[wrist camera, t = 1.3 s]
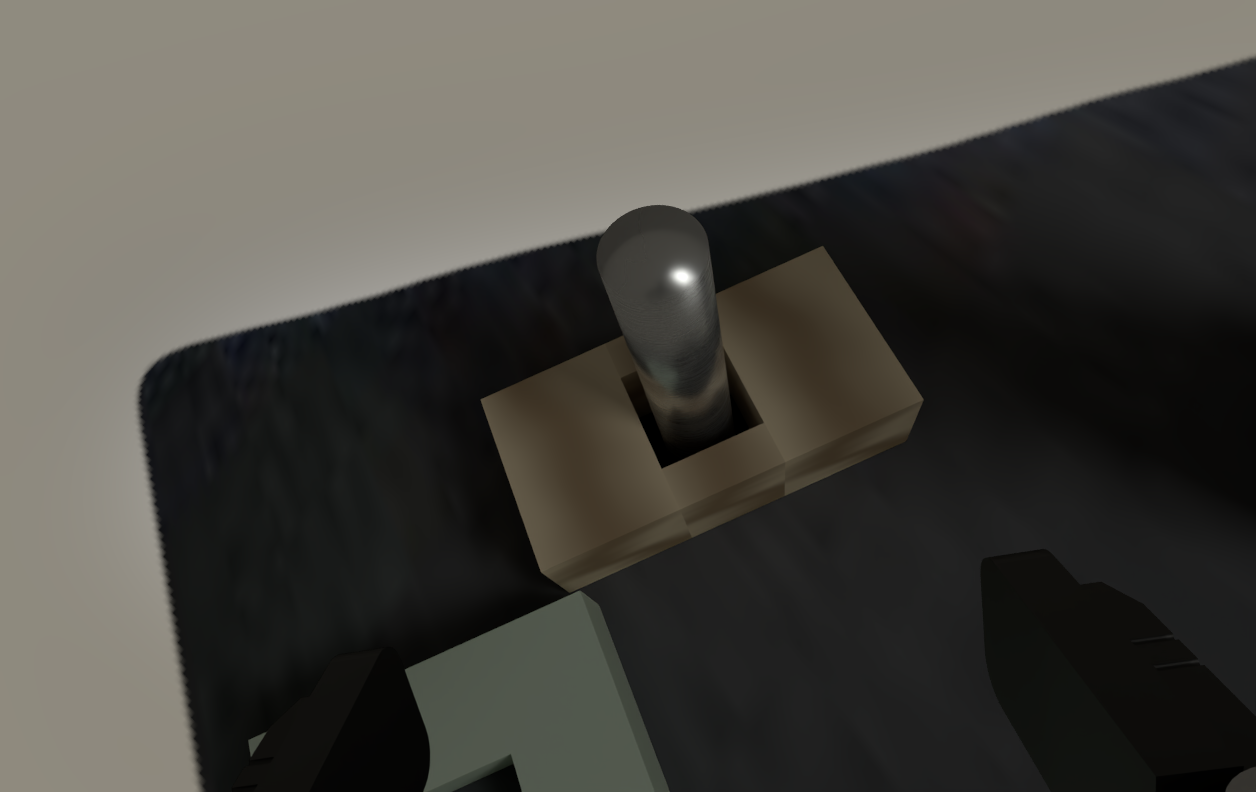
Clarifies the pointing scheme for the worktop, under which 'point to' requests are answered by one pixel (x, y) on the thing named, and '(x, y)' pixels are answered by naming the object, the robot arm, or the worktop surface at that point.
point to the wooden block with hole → (724, 473)
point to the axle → (670, 323)
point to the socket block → (535, 707)
